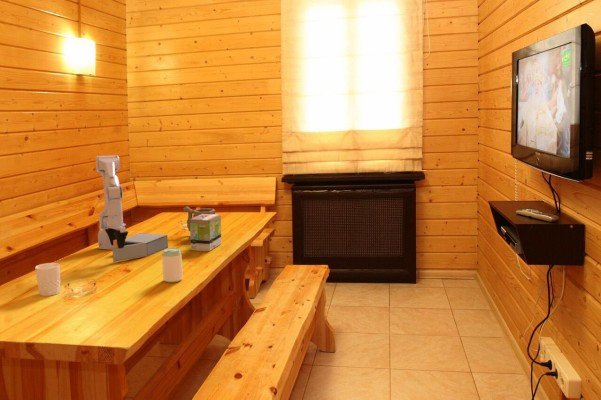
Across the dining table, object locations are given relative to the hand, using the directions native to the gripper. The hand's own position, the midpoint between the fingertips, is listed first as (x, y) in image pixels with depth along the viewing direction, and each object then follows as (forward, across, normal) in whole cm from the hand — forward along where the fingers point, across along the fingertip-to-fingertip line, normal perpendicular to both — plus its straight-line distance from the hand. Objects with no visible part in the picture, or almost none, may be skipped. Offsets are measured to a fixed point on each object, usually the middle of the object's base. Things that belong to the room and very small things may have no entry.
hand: (117, 246), depth 237 cm
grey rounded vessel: (+7, +18, -51) cm, 54 cm away
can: (+7, -40, -4) cm, 40 cm away
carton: (+7, +11, -17) cm, 21 cm away
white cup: (+7, -23, +35) cm, 43 cm away
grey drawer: (+6, 0, -5) cm, 8 cm away
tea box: (+7, -3, -41) cm, 42 cm away
